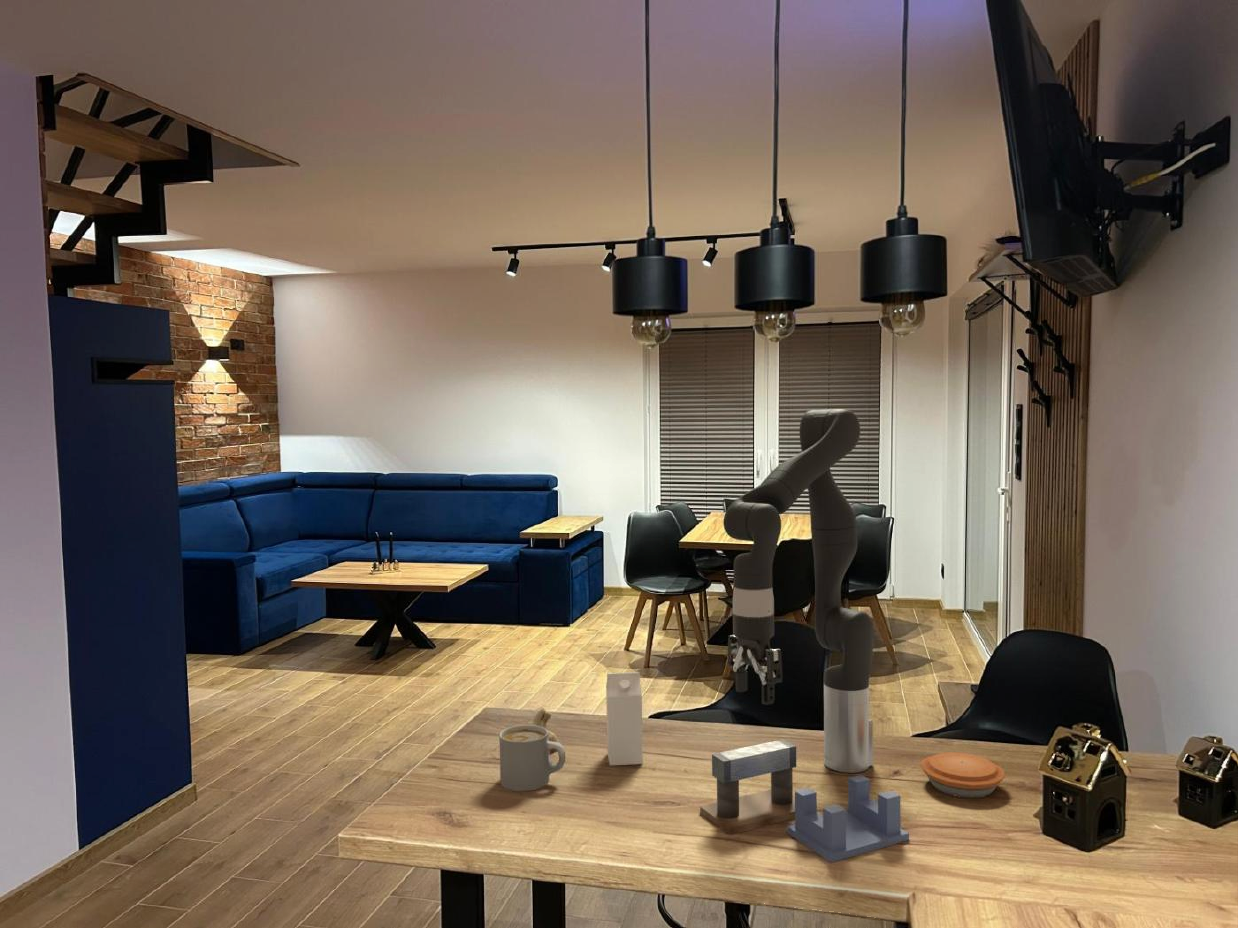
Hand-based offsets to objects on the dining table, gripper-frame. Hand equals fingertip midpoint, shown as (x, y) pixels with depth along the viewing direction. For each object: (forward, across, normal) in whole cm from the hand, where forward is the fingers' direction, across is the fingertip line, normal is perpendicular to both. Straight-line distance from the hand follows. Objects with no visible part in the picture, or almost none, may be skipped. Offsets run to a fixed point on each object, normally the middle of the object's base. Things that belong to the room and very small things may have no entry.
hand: (754, 697), depth 162 cm
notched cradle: (+22, -15, -9) cm, 28 cm away
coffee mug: (+22, +33, +32) cm, 51 cm away
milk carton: (+22, +35, +10) cm, 43 cm away
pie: (+22, -9, -43) cm, 49 cm away
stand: (+22, 0, 0) cm, 22 cm away
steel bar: (+14, 0, 0) cm, 14 cm away
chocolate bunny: (+22, +48, +24) cm, 58 cm away
